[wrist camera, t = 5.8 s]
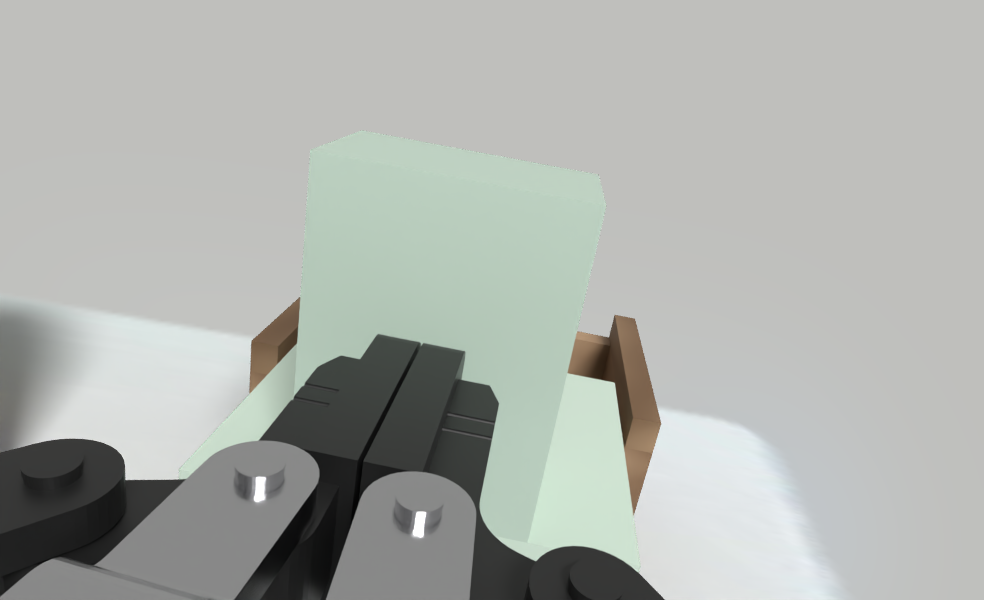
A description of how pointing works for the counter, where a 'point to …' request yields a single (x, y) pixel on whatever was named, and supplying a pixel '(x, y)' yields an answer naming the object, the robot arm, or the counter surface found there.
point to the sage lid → (466, 320)
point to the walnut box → (589, 358)
